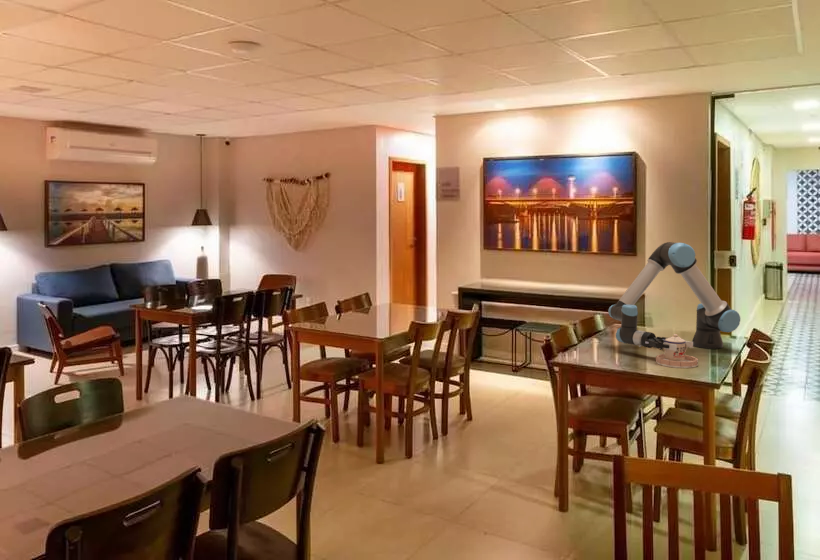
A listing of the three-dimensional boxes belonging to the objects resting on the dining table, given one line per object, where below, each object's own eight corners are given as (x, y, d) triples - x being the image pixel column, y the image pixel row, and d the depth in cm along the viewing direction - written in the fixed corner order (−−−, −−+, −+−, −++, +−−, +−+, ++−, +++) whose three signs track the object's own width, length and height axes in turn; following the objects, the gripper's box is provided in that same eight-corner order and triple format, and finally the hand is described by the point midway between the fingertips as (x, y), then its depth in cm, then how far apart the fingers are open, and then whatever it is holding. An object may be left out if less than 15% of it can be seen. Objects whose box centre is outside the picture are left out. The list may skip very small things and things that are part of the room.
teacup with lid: (675, 361, 307) (676, 336, 305) (659, 358, 315) (660, 333, 314) (693, 359, 312) (694, 334, 311) (678, 355, 320) (679, 331, 319)
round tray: (671, 358, 326) (671, 352, 326) (705, 364, 311) (705, 359, 311) (648, 362, 316) (648, 356, 316) (682, 369, 301) (682, 363, 301)
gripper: (660, 344, 335) (699, 351, 317) (628, 349, 321) (668, 357, 303) (660, 329, 334) (700, 335, 316) (629, 333, 321) (668, 341, 303)
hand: (684, 346), depth 310 cm, fingers closed on teacup with lid, 12 cm apart
